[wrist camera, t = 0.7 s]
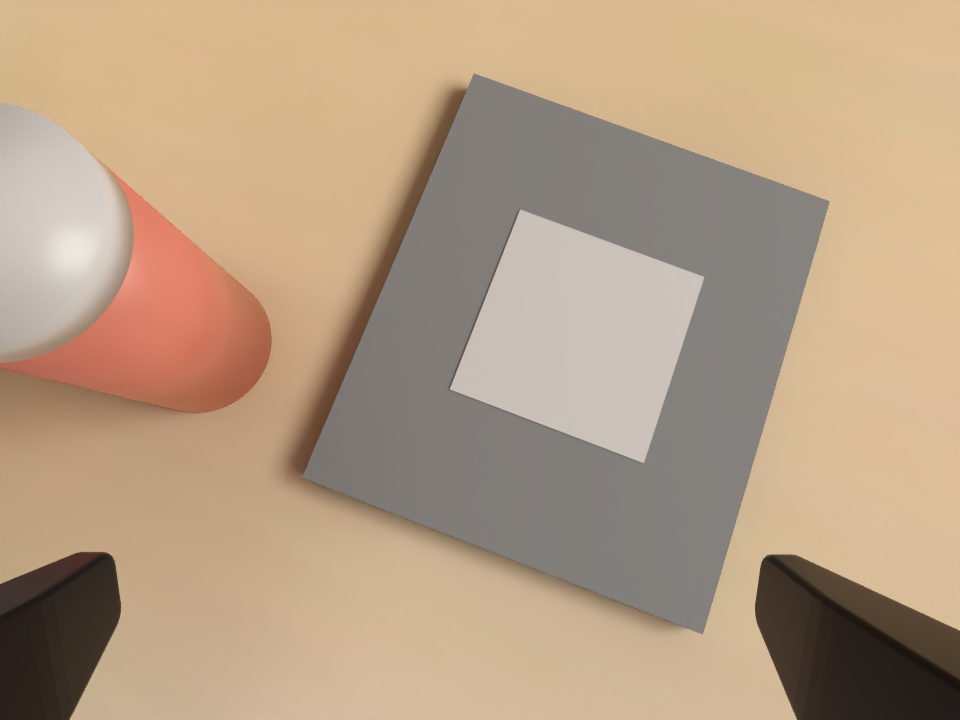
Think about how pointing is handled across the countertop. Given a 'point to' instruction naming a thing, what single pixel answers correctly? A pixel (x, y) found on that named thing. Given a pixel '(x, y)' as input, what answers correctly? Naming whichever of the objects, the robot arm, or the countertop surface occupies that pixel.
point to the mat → (576, 351)
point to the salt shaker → (112, 283)
